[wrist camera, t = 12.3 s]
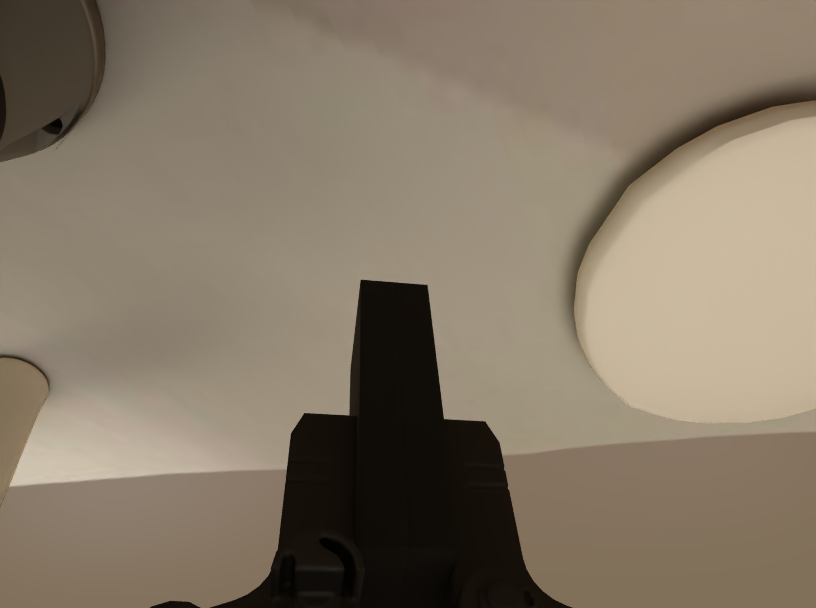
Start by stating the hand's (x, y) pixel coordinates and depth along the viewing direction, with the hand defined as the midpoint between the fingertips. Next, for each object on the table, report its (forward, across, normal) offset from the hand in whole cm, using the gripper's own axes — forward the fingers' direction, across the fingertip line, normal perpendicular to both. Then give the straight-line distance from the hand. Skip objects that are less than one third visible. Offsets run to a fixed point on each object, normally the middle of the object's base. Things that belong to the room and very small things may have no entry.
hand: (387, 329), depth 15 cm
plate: (+28, +30, -14) cm, 43 cm away
